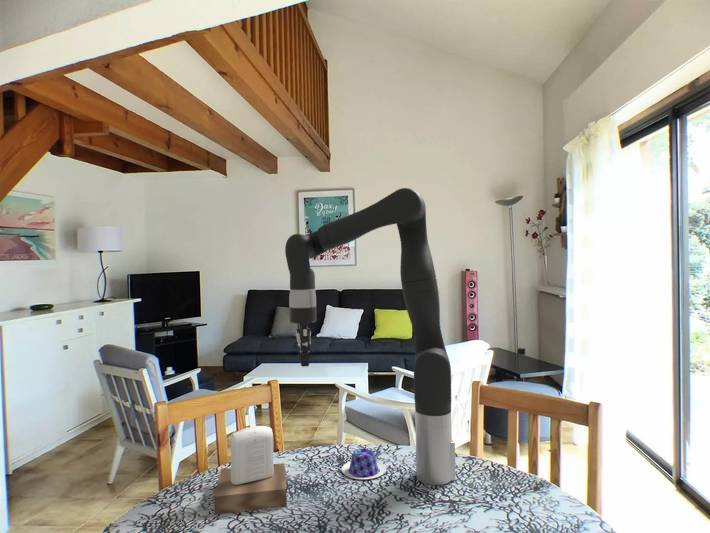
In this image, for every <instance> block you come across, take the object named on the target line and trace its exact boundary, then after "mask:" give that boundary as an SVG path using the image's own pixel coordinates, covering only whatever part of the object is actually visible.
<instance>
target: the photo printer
mask: <svg viewBox="0 0 710 533" xmlns="http://www.w3.org/2000/svg"><path fill="white" fill-rule="evenodd" d="M273 464H274V433H273V429H272V428H271V427H269V426H264V425H256V426H248V427H246V428H242V429H240V430H238V431H235V432H234V433H232V434H231V441H230V468H231V483H232V484H234V485H237V484H243V483H247V482H252V481H256V480H260V479H265V478H269V477H272V476H273Z"/></svg>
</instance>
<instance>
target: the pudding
mask: <svg viewBox="0 0 710 533" xmlns="http://www.w3.org/2000/svg"><path fill="white" fill-rule="evenodd" d="M379 469H380V472H379ZM386 471H387V468H386V465H385V464H383V463H382V462H380V461H377V458H376V455H375V452H374V451H373V450H372V449H370V448H358V449H355V450H353V453H352V456H351V460H350V461H348V462H346V463H345V464H343V466H342V467H341V472H342V474H343V475H344V476H346V477H348V478H352V479H356V480H371V479H375V478H379V477H381V476H382V475H384V474H385V473H386Z"/></svg>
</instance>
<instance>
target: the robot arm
mask: <svg viewBox="0 0 710 533" xmlns="http://www.w3.org/2000/svg"><path fill="white" fill-rule="evenodd" d="M425 202H426V201H425V200H424V198H423V197H422V195H420V194H419V193H418V192H417V191H416V190H414V189H412V188H410V187H403V188H399V189H397V190H395V191H393V192H392V193H390V194H387V196H385V197H383V198H382V199H380V200H379V201H377V202H375V203H373V204H371V205H369V206H367V207H365V208H363V209H361V210H359V211H358V210H357V211H356V212H354V213H351V214H348V215H345V216H344V217H341V218H338V219H335V220H333V221H330V222H328V223H325V224H324V225H321V226H320V227H319V228H317V230H315V231H313V232H310V233H308V234H301V233H294V234H291V235H290V236H289V237H288V239H287V241H286V243H285V246H284V247H285V248H284V249H285V250H284V253H285V254H284V255H285V259H286V263H287V268H288V272H289V296H288V298H289V301H288V303H289V304H288V305H289V308H288V309H289V323H291V324H296V326H297V328H296V329H295V335H296V342H297V346H298V360H299V361H300V366H301V367H309V366H310V351H311V344H312V343H311V342H312V341H311V339H312V338H311V335H312V330H311V328H310V327H309V324H312V323H316V321H317V294H316V293H317V292H316V275H315V271H314V269H312V268H311V265H310V259H314V258H317V257H318V256H320V255H322V254H324V253H326V252H327V251H329V250H333V249H336V248H338V247H342V246H344V245H347V244H349V243H351V242H354V241H355V240H357V239H359V238H361V237H363V236H364V235H366V234H368V233H370V232H372V231H375V230H378V229H380V228H383V227H387V226H392V225H395V224H396V227H397V232H398V234H399V239H400V251H401V252H400V281H401V282H400V284H401V289H402V296H403V300H404V305H405V309H406V312H407V315H408V318H409V321H410V324H411V326H412V331H413V339H414V355H415V356H414V357H415V358H414V364H413V387H414V388H413V389H414V390H413V391H414V392H413V394H414V420H415V422H414V424H415V425H414V426H415V463H416V464H415V469H416V478H417V480H418V481H419V482H421V483H424V484H426V485H433V486H441V485H446V484H449V483H450V482H452V481H456V480H457V479H456V443H455V441H454V440H453V437H452V435H453V434H452V433H453V432H452V368H451V362H450V358H449V355H448V353H447V350H446V346H445V342H444V338H443V334H442V330H441V320H440V319H441V310H440V308H441V307H440V296H439V294H440V293H439V285H438V280H437V276H436V274H437V273H436V271H435V270H436V269H435V266H434V265H435V264H434V261H433V260H434V259H433V256H432V253H431V248H430V245H429V241H428V231H427V217H426V216H427V214H426V213H427V209H426V208H427V207H426V203H425Z"/></svg>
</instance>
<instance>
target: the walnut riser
mask: <svg viewBox="0 0 710 533" xmlns="http://www.w3.org/2000/svg"><path fill="white" fill-rule="evenodd" d="M285 465H286V463H285V462H282V463H273V476H272V477H269V478H265V479H260V480H256V481H252V482H247V483H243V484H237V485H234V484H232V483H231V467H230V468H221V469H220V471H219V476H218V480H217V484H216V488H215V491H214V496H213V507H214V508H213V511H214V514H215V515H222V514H223V513H224V514H228V513H229V514H232V513H241V512H249V511H258V510H266V509H274V508H284V507H287V506H288V505H287V504H288V503H287V501H288V500H287V498H288V496H287V477H286V475H287V474H286V466H285Z"/></svg>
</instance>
